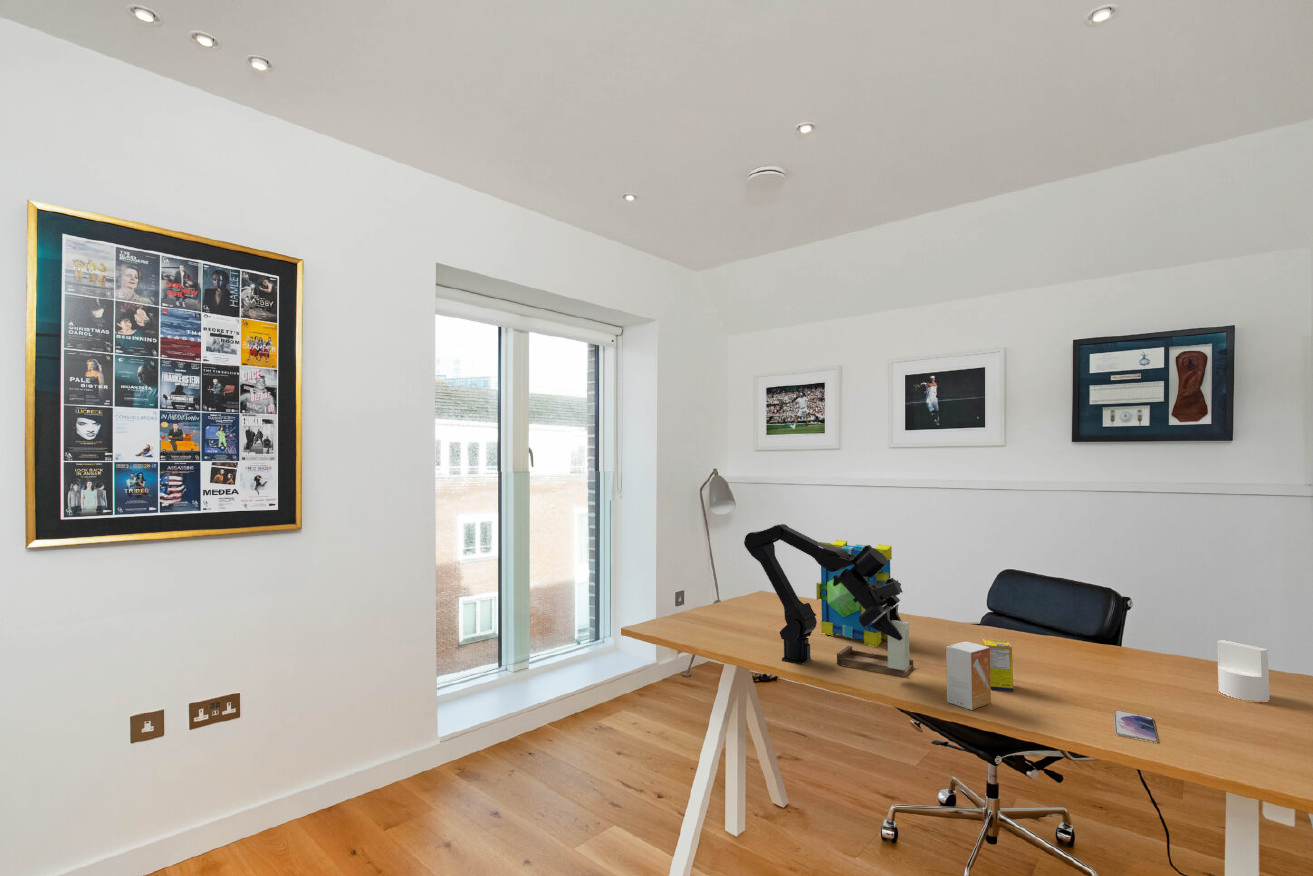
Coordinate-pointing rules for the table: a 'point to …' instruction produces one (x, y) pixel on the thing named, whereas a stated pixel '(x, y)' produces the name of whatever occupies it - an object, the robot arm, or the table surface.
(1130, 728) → the smartphone
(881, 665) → the wooden tray
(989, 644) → the supplement box
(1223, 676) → the base with upright slab
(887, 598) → the robot arm
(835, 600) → the blue toy crate
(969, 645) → the small box
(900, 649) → the pale green recessed block
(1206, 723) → the table surface
